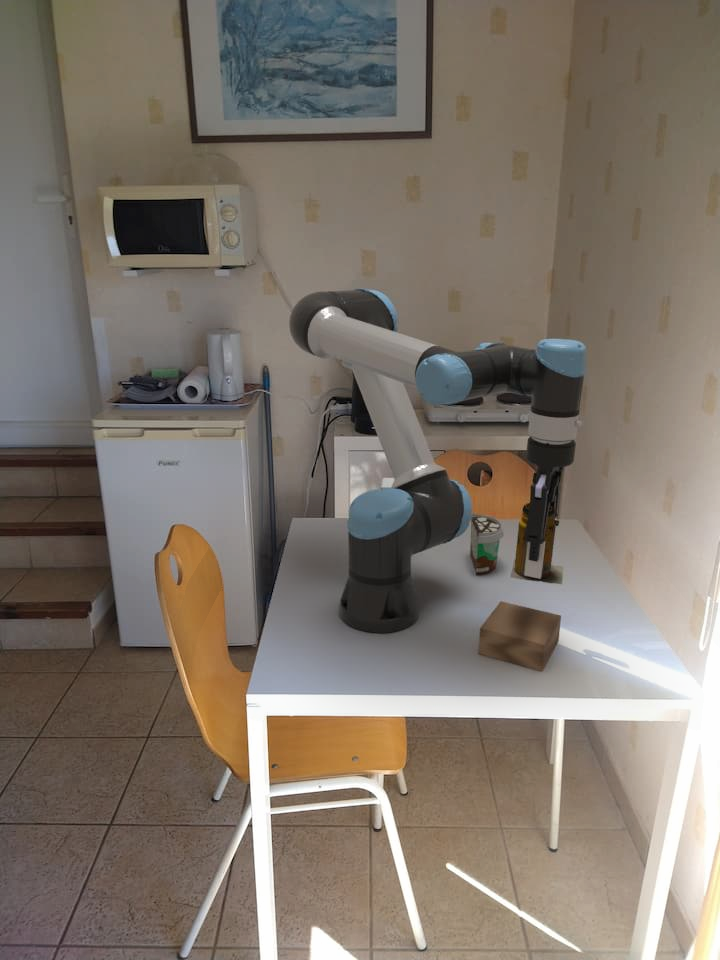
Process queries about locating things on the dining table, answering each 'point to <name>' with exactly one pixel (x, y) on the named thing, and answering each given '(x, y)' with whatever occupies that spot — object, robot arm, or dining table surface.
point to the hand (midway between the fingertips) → (537, 567)
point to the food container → (484, 543)
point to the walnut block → (520, 635)
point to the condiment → (548, 571)
